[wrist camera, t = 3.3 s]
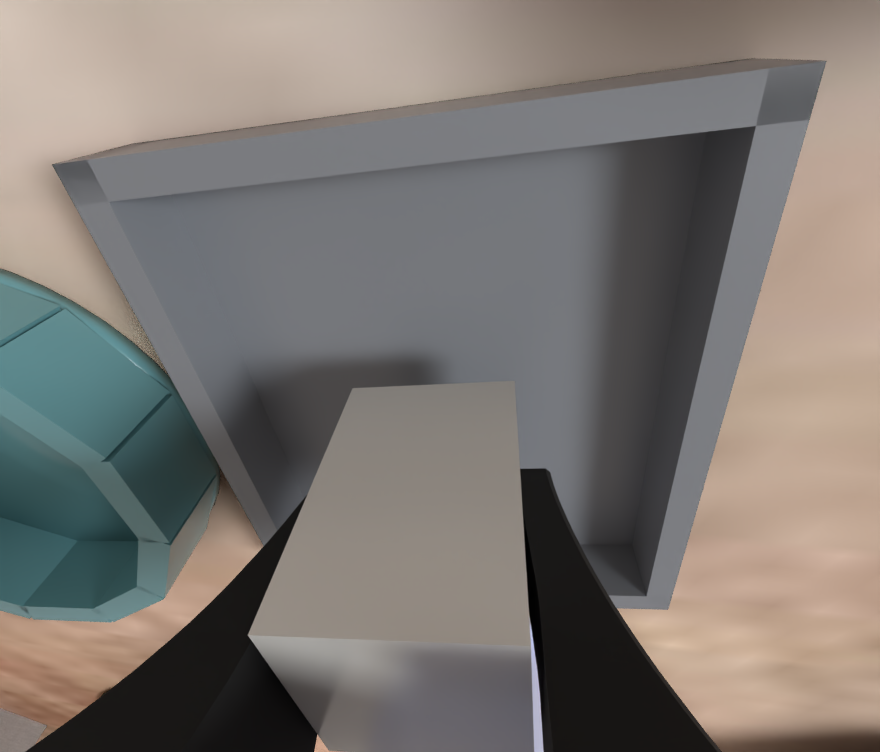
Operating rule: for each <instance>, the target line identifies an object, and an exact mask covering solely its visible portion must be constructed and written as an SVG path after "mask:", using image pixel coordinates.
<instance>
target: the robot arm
mask: <svg viewBox="0 0 880 752" xmlns="http://www.w3.org/2000/svg"><path fill="white" fill-rule="evenodd" d="M520 477H521V493H522V509H523V525H524V541H525V557H526V573H527V589H528V605H529V616H530V617H529V622H530V638H531V662H532V695H533V729H534V752H722V751H721V750H720V749H719V748H718V746H717V745H716V744H715V743H714V742H713V740H712V739H711V738H710V737H709V735H708V734H707V733H706V732H705V731H704V729H703V728H702V727H701V725H700V724H699V723H698V721H697V720H696V719H695V717H694V716H693V715H692V714H691V712H690V711H689V710H688V708H687V707H686V706H685V704H684V703H683V702H682V700H681V699H680V698H679V697H678V695H677V694H676V693H675V691H674V690H673V689H672V687H671V686H670V685H669V684H668V682H667V681H666V680H665V678H664V677H663V676H662V674H661V673H660V672H659V670H658V669H657V667H656V666H655V665H654V663H653V662H652V660H651V659H650V657H649V656H648V655H647V653H646V652H645V650H644V649H643V647H642V646H641V645H640V643H639V642H638V640H637V639H636V637H635V636H634V634H633V633H632V631H631V630H630V628H629V627H628V625H627V624H626V622H625V621H624V619H623V618H622V616H621V615H620V613H619V611H618V610H617V608H616V607H615V605H614V603H613V602H612V600H611V599H610V597H609V595H608V594H607V592H606V590H605V589H604V587H603V585H602V583H601V582H600V580H599V578H598V577H597V575H596V573H595V571H594V570H593V568H592V566H591V564H590V562H589V561H588V559H587V557H586V555H585V553H584V551H583V549H582V547H581V545H580V543H579V541H578V539H577V538H576V536H575V534H574V532H573V530H572V528H571V525H570V523H569V521H568V519H567V517H566V514H565V512H564V510H563V508H562V505H561V503H560V500H559V498H558V495H557V493H556V490H555V487H554V484H553V481H552V477H551V473H550V471H548V470H547V469H546V468H537V469H520ZM306 497H307V495H306V496H305V498H304V499H303V500H302V501H301V503H300V504H299V505H298V506H297V507H296V509H295V510H294V511H293V512H292V514H291V515H290V516H289V517H288V518H287V520H286V521H285V522H284V523H283V524H282V526H281V527H280V528H279V529H278V530H277V531H276V533H275V534H274V535H273V536H272V537H271V538H270V540H269V541H268V542H267V543H266V544H265V546H264V547H263V548H262V549H261V550H260V551H259V552H258V553H257V555H256V556H255V557H254V558H253V559H252V560H251V561H250V562H249V563H248V564H247V565H246V566H245V568H244V569H243V570H242V571H241V572H240V573H239V574H238V575H237V576H236V577H235V578H234V579H233V580H232V582H231V583H230V584H229V585H228V586H227V587H226V588H225V589H224V590H223V591H222V592H221V593H220V594H219V595H218V596H217V597H216V598H215V599H214V600H213V601H212V602H211V603H210V604H209V605H208V606H207V607H206V608H205V609H203V610H202V611H201V612H200V613H199V614H198V615H197V616H196V617H195V618H194V619H193V620H192V621H191V622H190V623H189V624H188V625H187V626H185V627H184V628H183V629H182V630H181V631H180V632H179V633H178V634H176V635H175V636H174V637H173V638H172V639H171V640H170V641H168V642H167V643H166V644H165V645H164V646H163V647H161V648H160V649H159V650H158V651H157V652H156V653H154V654H153V655H152V656H151V657H150V658H149V659H147V660H146V661H145V662H144V663H143V664H142V665H140V666H139V667H138V668H137V669H136V670H134V671H133V672H132V673H131V674H129V675H128V676H127V677H126V678H124V679H123V680H122V681H121V682H119V683H118V684H117V685H115V686H114V687H113V688H112V689H110V690H109V691H108V692H106V693H105V694H104V695H103V696H101V697H100V698H99V699H97V700H96V701H95V702H93V703H92V704H91V705H89V706H88V707H87V708H86V709H84V710H83V711H82V712H80V713H79V714H78V715H76V716H75V717H73V718H72V719H71V720H69V721H68V722H67V723H65V724H64V725H63V726H61V727H60V728H58V729H57V730H55V731H54V732H53V733H51V734H50V735H48V736H47V737H45V738H44V739H43V740H41V741H40V742H38V743H37V744H35V745H34V746H32V747H31V748H30V749H28V750H27V751H25V752H314V749H315V744H316V738H317V733H316V731H315V730H314V729H313V727H312V726H311V724H310V723H309V721H308V720H307V719H306V717H305V716H304V714H303V713H302V712H301V710H300V709H299V707H298V706H297V704H296V703H295V702H294V700H293V699H292V697H291V696H290V694H289V693H288V692H287V690H286V689H285V687H284V686H283V685H282V683H281V682H280V680H279V679H278V677H277V676H276V675H275V673H274V672H273V670H272V669H271V667H270V666H269V665H268V663H267V662H266V660H265V659H264V658H263V656H262V655H261V653H260V652H259V650H258V649H257V648H256V646H255V645H254V643H253V642H252V641H251V639H250V638H249V636H248V634H249V631H250V629H251V626H252V624H253V622H254V619H255V617H256V615H257V612H258V610H259V608H260V605H261V603H262V601H263V598H264V596H265V593H266V591H267V589H268V586H269V584H270V582H271V579H272V577H273V575H274V572H275V570H276V568H277V565H278V563H279V560H280V558H281V556H282V553H283V551H284V549H285V546H286V544H287V542H288V539H289V537H290V534H291V532H292V530H293V527H294V525H295V523H296V520H297V518H298V516H299V513H300V511H301V509H302V506H303V504H304V501H305V499H306Z"/></svg>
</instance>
